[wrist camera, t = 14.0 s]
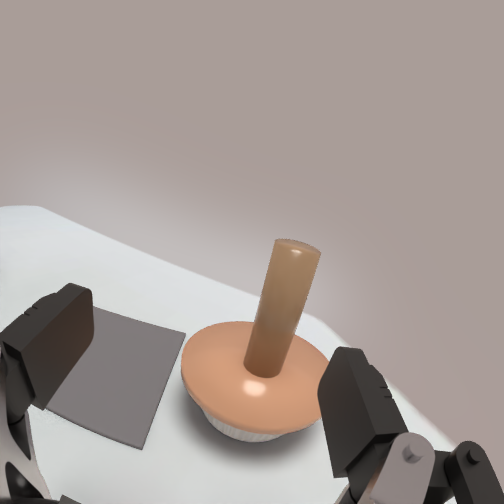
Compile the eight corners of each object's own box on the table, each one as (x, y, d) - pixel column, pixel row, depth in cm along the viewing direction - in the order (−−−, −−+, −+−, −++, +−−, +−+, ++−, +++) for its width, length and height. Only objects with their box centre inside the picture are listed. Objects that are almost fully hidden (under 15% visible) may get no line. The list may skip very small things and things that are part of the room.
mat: (-9, 372, 17) (-10, 370, 17) (69, 300, 34) (69, 297, 34) (141, 450, 17) (141, 447, 17) (185, 335, 35) (185, 333, 34)
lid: (151, 349, 23) (163, 217, 20) (259, 317, 33) (285, 219, 30) (259, 465, 14) (329, 318, 11) (357, 383, 24) (410, 273, 21)
